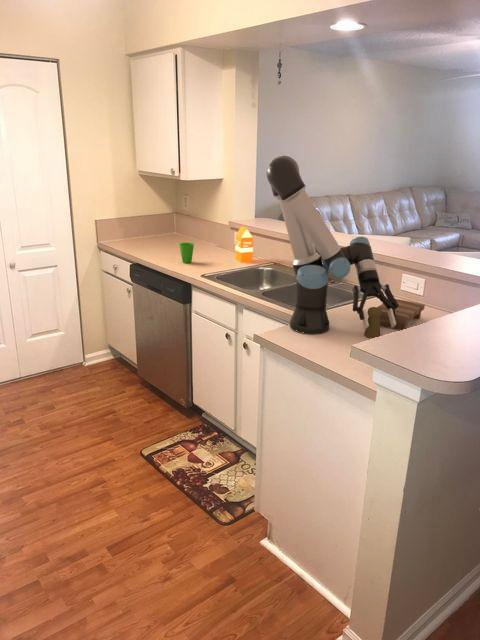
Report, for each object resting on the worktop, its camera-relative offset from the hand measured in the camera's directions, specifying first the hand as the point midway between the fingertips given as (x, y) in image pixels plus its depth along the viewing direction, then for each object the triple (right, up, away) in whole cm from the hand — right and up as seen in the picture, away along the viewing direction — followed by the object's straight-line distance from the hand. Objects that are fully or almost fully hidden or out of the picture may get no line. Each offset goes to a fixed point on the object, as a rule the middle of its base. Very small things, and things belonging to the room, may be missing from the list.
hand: (380, 326), depth 187 cm
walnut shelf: (+13, +2, +21) cm, 24 cm away
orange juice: (-49, +38, +120) cm, 135 cm away
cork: (-2, -4, +5) cm, 6 cm away
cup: (-82, +36, +113) cm, 144 cm away
